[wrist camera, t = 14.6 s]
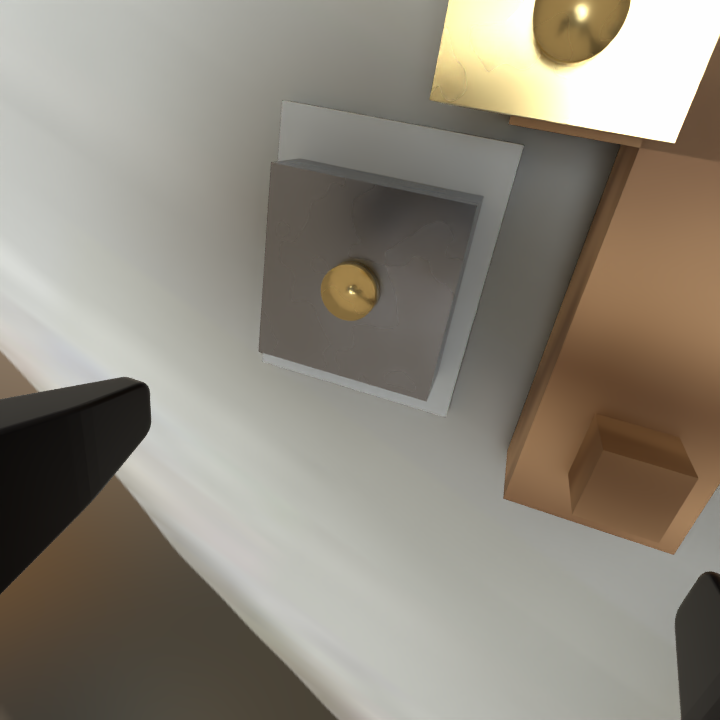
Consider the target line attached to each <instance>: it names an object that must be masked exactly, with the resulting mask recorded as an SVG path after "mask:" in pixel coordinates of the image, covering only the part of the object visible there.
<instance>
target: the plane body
mask: <svg viewBox="0 0 720 720" xmlns="http://www.w3.org/2000/svg"><path fill="white" fill-rule="evenodd" d="M509 124H510V125H516V126H522V127H527V128H533V129H538V130H544V131H549V132H555V133H560V134H566V135H572V136H577V137H583V138H588V139H594V140H599V141H605V142H610V143H616V144H621V146H620V149H619V151H618V154H617V157H616V159H615V162H614V165H613V167H612V170H611V173H610V176H609V178H608V181H607V184H606V186H605V189H604V192H603V194H602V197H601V200H600V202H599V205H598V208H597V211H596V213H595V216H594V219H593V221H592V224H591V227H590V229H589V232H588V235H587V237H586V240H585V243H584V246H583V248H582V251H581V254H580V256H579V259H578V262H577V264H576V267H575V270H574V272H573V275H572V278H571V281H570V283H569V286H568V289H567V291H566V294H565V297H564V299H563V302H562V305H561V307H560V310H559V313H558V316H557V318H556V321H555V324H554V326H553V329H552V332H551V334H550V337H549V340H548V342H547V345H546V348H545V351H544V353H543V356H542V359H541V361H540V364H539V367H538V369H537V372H536V375H535V377H534V380H533V383H532V386H531V388H530V391H529V394H528V396H527V399H526V402H525V404H524V407H523V410H522V412H521V415H520V418H519V421H518V423H517V426H516V429H515V431H514V434H513V437H512V439H511V442H510V445H509V447H508V450H507V461H506V473H505V485H504V497H503V499H506V500H509V501H512V502H516V503H519V504H522V505H525V506H528V507H531V508H534V509H537V510H540V511H543V512H546V513H549V514H552V515H555V516H558V517H561V518H564V519H567V520H570V521H573V522H576V523H579V524H582V525H585V526H588V527H591V528H594V529H597V530H600V531H603V532H606V533H609V534H612V535H615V536H618V537H621V538H624V539H627V540H630V541H633V542H636V543H640V544H643V545H646V546H649V547H652V548H655V549H658V550H661V551H664V552H667V553H670V554H673V555H674V553H675V552H676V550H677V549H678V547H679V546H680V544H681V543H682V541H683V540H684V538H685V536H686V535H687V533H688V532H689V530H690V529H691V527H692V526H693V524H694V523H695V521H696V519H697V518H698V516H699V515H700V513H701V512H702V510H703V509H704V507H705V505H706V504H707V502H708V501H709V499H710V498H711V496H712V495H713V493H714V492H715V490H716V488H717V487H718V485H719V484H720V35H719V37H718V40H717V42H716V45H715V47H714V49H713V52H712V54H711V57H710V59H709V61H708V64H707V66H706V69H705V71H704V73H703V76H702V78H701V81H700V83H699V85H698V88H697V90H696V93H695V95H694V97H693V100H692V102H691V105H690V107H689V109H688V112H687V114H686V117H685V119H684V121H683V124H682V126H681V129H680V131H679V133H678V136H677V138H676V141H675V143H671V142H662V141H653V140H646V139H641V138H635V137H629V136H624V135H618V134H612V133H607V132H601V131H595V130H590V129H584V128H578V127H573V126H567V125H561V124H556V123H550V122H544V121H539V120H533V119H527V118H522V117H516V116H511V117H510V121H509Z"/></svg>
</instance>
